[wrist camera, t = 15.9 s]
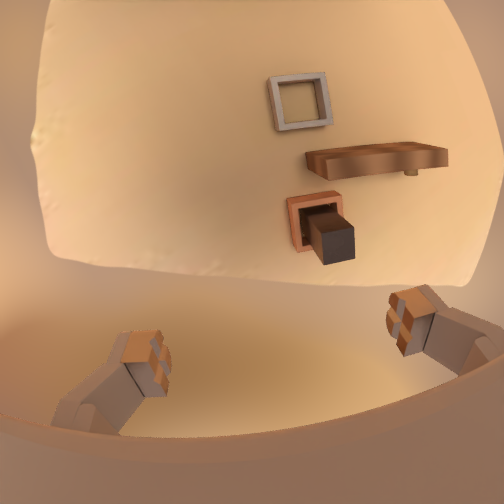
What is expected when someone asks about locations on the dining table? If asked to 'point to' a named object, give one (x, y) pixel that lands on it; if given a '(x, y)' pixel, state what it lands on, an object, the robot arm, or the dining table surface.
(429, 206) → the dining table surface
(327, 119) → the frame
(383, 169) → the door panel
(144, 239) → the dining table surface
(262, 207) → the dining table surface
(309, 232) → the bar
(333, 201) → the frame
